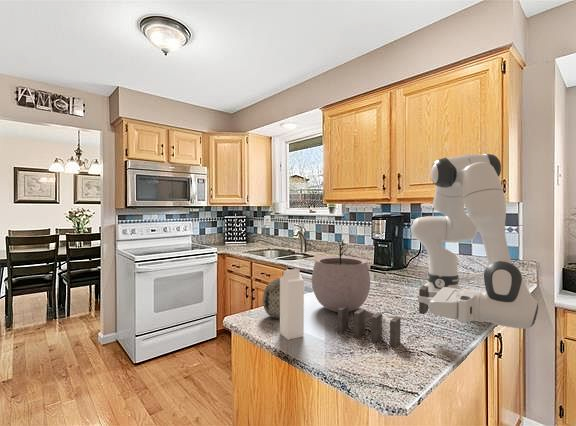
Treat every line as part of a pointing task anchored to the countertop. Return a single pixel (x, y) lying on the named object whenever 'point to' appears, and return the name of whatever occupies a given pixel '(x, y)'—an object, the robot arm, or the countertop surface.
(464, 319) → the robot arm
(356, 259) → the plant pot
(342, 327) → the domino
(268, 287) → the decorative egg
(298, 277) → the milk
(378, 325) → the domino
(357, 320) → the domino
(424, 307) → the domino
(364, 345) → the countertop surface
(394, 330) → the domino
